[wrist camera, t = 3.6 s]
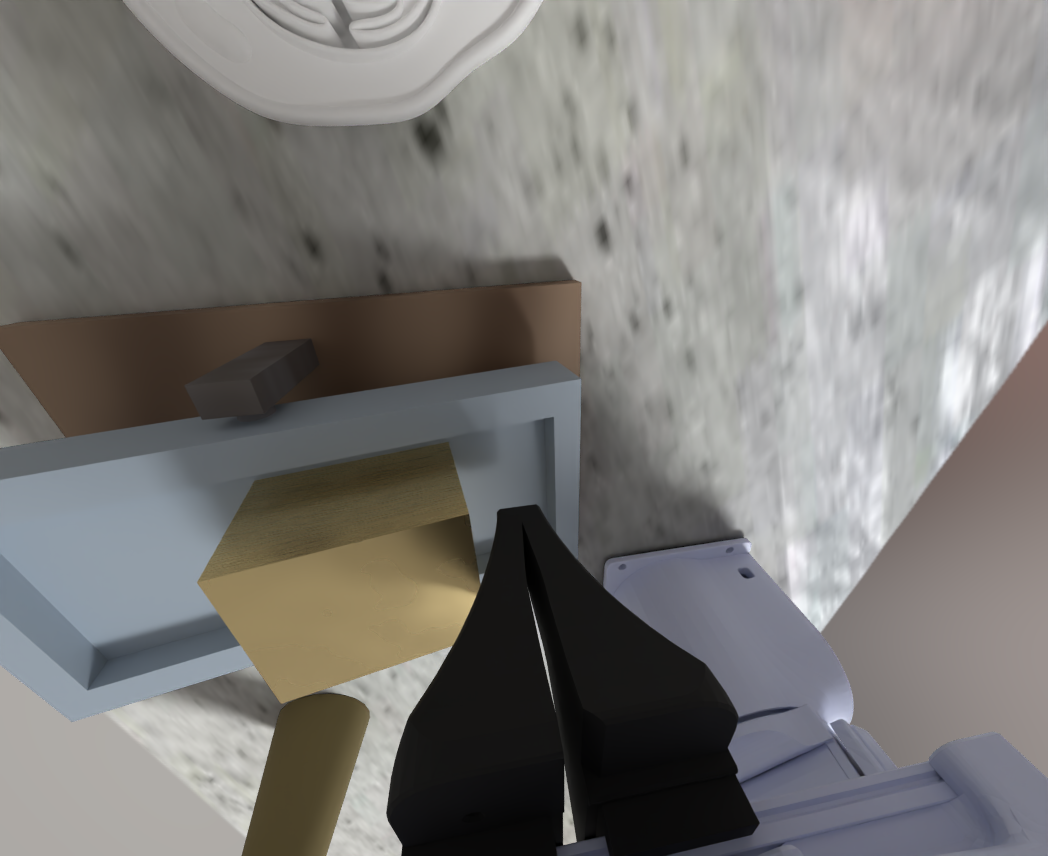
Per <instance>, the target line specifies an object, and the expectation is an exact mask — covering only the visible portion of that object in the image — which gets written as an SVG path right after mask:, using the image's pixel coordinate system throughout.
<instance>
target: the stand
mask: <svg viewBox="0 0 1048 856" xmlns="http://www.w3.org/2000/svg"><path fill="white" fill-rule="evenodd" d="M580 324H581V282H578V281H576V280H566V281H553V282H540V283H527V284H514V285H501V286H488V287H475V288H462V289H449V290H436V291H423V292H410V293H397V294H383V295H370V296H357V297H344V298H331V299H318V300H305V301H292V302H279V303H266V304H253V305H240V306H227V307H214V308H201V309H188V310H175V311H162V312H149V313H136V314H123V315H110V316H97V317H84V318H71V319H58V320H45V321H32V322H19V323H13V324H8V325H3V326H0V349H1V350H2V352H3V353H4V354H5V356H6V357H7V359H8V360H9V361H10V363H11V364H12V365H13V367H14V368H15V369H16V371H17V372H18V373H19V375H20V376H21V377H22V379H23V380H24V382H25V383H26V384H27V386H28V387H29V388H30V390H31V391H32V392H33V394H34V395H35V396H36V398H37V399H38V400H39V402H40V403H41V405H42V406H43V407H44V409H45V410H46V411H47V413H48V414H49V415H50V417H51V418H52V419H53V421H54V422H55V423H56V425H57V426H58V428H59V429H60V430H61V432H62V433H63V434H64V436H65V437H66V438H67V437H74V436H80V435H86V434H93V433H99V432H105V431H112V430H118V429H125V428H131V427H137V426H144V425H150V424H156V423H163V422H169V421H175V420H182V419H188V418H194V417H201V419H202V420H207V419H217V418H226V417H236V416H245V415H255V414H264V413H266V412H267V411H268V410H269V409H270V408H271V407H272V406H273V405H277V404H283V403H290V402H296V401H302V400H309V399H315V398H321V397H328V396H334V395H340V394H347V393H353V392H360V391H366V390H372V389H379V388H385V387H391V386H398V385H404V384H410V383H417V382H423V381H429V380H436V379H442V378H448V377H455V376H461V375H468V374H474V373H480V372H487V371H493V370H499V369H506V368H512V367H518V366H525V365H531V364H537V363H544V362H550V361H558V362H559V363H560V364H562V365H563V366H564V367H566V368H567V369H569V370H570V371H571V372H573V373H574V374H575V375H577V376H578V377H580Z"/></svg>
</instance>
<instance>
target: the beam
mask: <svg viewBox="0 0 1048 856" xmlns="http://www.w3.org/2000/svg"><path fill="white" fill-rule="evenodd" d="M580 426H581V378H580V377H578V376H577V375H575V374H574V373H573V372H571V371H570V370H569V369H567V368H566V367H564V366H563V365H562V364H560V363H559V362H558V361H550V362H544V363H537V364H531V365H525V366H518V367H512V368H506V369H499V370H493V371H487V372H480V373H474V374H468V375H461V376H455V377H448V378H442V379H436V380H429V381H423V382H417V383H410V384H404V385H398V386H391V387H385V388H379V389H372V390H366V391H360V392H353V393H347V394H340V395H334V396H328V397H321V398H315V399H309V400H302V401H296V402H290V403H283V404H277V405H273V406H272V407H271V408H270V409H269V410H268V411H267V412H266V413H264V414H255V415H245V416H236V417H226V418H217V419H207V420H202V419H201V417H194V418H188V419H182V420H175V421H169V422H163V423H156V424H150V425H144V426H137V427H131V428H125V429H118V430H112V431H105V432H99V433H93V434H86V435H80V436H74V437H67V438H61V439H55V440H48V441H42V442H36V443H29V444H23V445H17V446H10V447H4V448H0V665H1V666H2V667H3V668H4V669H6V670H7V671H8V672H9V673H11V674H12V675H13V676H15V677H16V678H17V679H18V680H20V681H21V682H22V683H23V684H25V685H26V686H27V687H28V688H30V689H31V690H32V691H33V692H35V693H36V694H37V695H38V696H40V697H41V698H42V699H43V700H45V701H46V702H47V703H48V704H50V705H51V706H52V707H54V708H55V709H56V710H57V711H59V712H60V713H61V714H62V715H64V716H65V717H66V718H68V719H69V720H70V721H71V722H74V721H77V720H80V719H83V718H86V717H90V716H93V715H96V714H99V713H103V712H106V711H109V710H112V709H115V708H119V707H122V706H125V705H128V704H132V703H135V702H138V701H141V700H145V699H148V698H151V697H154V696H157V695H161V694H164V693H167V692H170V691H174V690H177V689H180V688H183V687H186V686H190V685H193V684H196V683H199V682H203V681H206V680H209V679H212V678H215V677H219V676H222V675H225V674H228V673H232V672H235V671H238V670H241V669H244V668H248V667H251V666H254V664H253V663H252V661H251V660H250V658H249V657H248V656H247V654H246V653H245V651H244V650H243V648H242V647H241V645H240V644H239V643H238V641H237V640H236V638H235V637H234V635H233V634H232V633H231V631H230V630H229V628H228V627H227V625H226V624H225V622H224V621H223V620H222V618H221V617H220V615H219V614H218V612H217V611H216V609H215V608H214V607H213V605H212V604H211V602H210V601H209V599H208V598H207V597H206V595H205V594H204V592H203V591H202V589H201V588H200V586H199V585H198V584H197V581H198V580H199V578H200V576H201V574H202V573H203V571H204V569H205V567H206V566H207V564H208V562H209V560H210V558H211V557H212V555H213V553H214V551H215V550H216V548H217V546H218V544H219V543H220V541H221V539H222V537H223V535H224V534H225V532H226V530H227V528H228V527H229V525H230V523H231V521H232V520H233V518H234V516H235V514H236V512H237V511H238V509H239V507H240V505H241V504H242V502H243V500H244V498H245V497H246V495H247V493H248V491H249V489H250V488H251V486H252V484H253V482H254V481H255V480H260V479H265V478H270V477H275V476H280V475H285V474H290V473H295V472H300V471H305V470H310V469H315V468H320V467H325V466H330V465H335V464H340V463H345V462H350V461H355V460H360V459H365V458H370V457H375V456H380V455H385V454H390V453H395V452H400V451H405V450H410V449H415V448H420V447H425V446H430V445H435V444H440V443H445V442H449V445H450V449H451V452H452V456H453V459H454V463H455V466H456V470H457V473H458V477H459V480H460V484H461V487H462V491H463V494H464V498H465V501H466V505H467V508H468V512H469V516H470V522H471V528H472V534H473V541H474V547H475V553H476V559H477V565H478V571H479V577H480V584H481V582H482V579H483V576H484V573H485V570H486V567H487V564H488V561H489V557H490V553H491V549H492V545H493V541H494V536H495V531H496V524H497V511H498V510H499V509H504V508H511V507H519V506H526V505H534V504H537V505H538V506H539V507H540V508H541V510H542V512H543V514H544V516H545V517H546V519H547V520H548V522H549V523H550V525H551V526H552V528H553V529H554V531H555V532H556V534H557V535H558V536H559V538H560V539H561V540H562V541H563V543H564V544H565V545H566V547H567V548H568V549H569V550H570V552H571V553H572V554H573V555H574V556H575V558H576V559H577V560H578V529H579V477H580Z"/></svg>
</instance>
